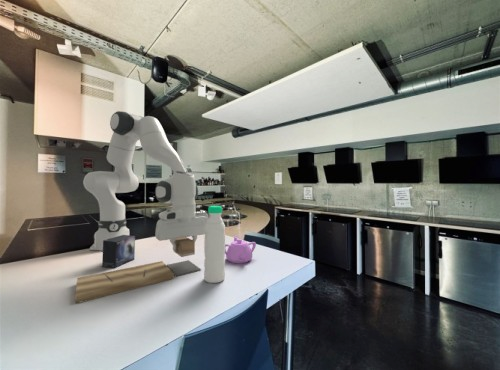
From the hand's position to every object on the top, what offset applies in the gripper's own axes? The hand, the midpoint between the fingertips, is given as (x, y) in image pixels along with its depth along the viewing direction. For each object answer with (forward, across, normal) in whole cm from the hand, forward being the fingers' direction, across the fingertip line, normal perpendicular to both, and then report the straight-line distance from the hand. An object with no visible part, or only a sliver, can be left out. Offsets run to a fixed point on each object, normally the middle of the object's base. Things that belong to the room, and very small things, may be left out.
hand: (183, 248), depth 82 cm
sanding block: (+2, 0, 0) cm, 2 cm away
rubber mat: (+8, 0, 0) cm, 8 cm away
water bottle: (+8, -5, +16) cm, 18 cm away
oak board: (+8, +19, 0) cm, 21 cm away
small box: (+8, +19, -21) cm, 30 cm away
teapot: (+8, -23, +5) cm, 25 cm away
